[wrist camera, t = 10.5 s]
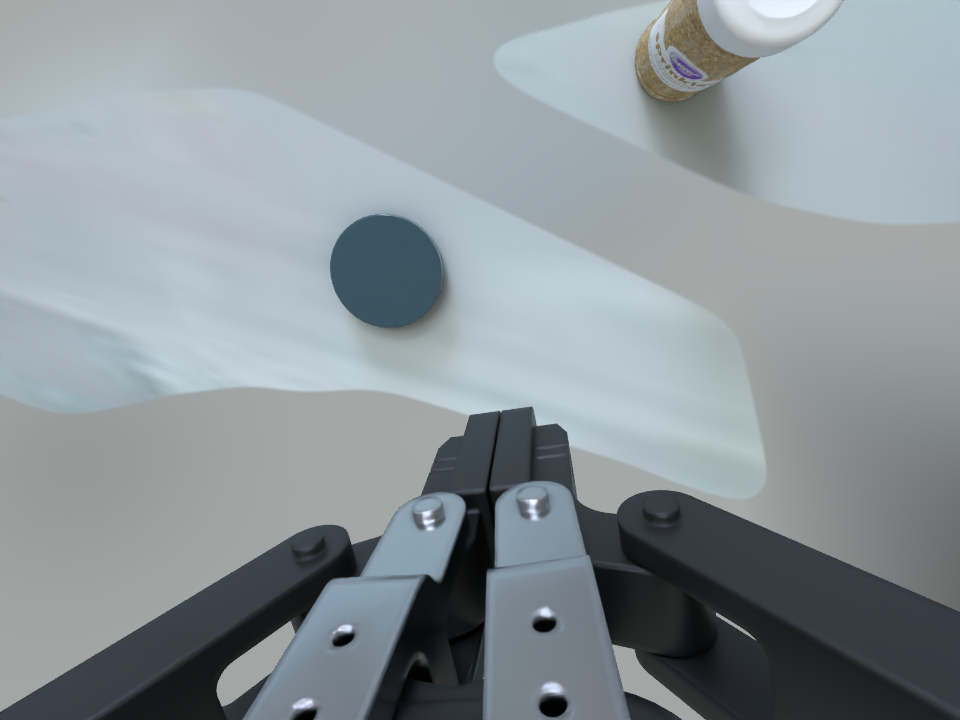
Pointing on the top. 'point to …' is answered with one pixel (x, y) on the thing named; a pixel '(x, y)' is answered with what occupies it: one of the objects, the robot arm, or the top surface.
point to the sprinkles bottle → (719, 40)
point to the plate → (386, 270)
